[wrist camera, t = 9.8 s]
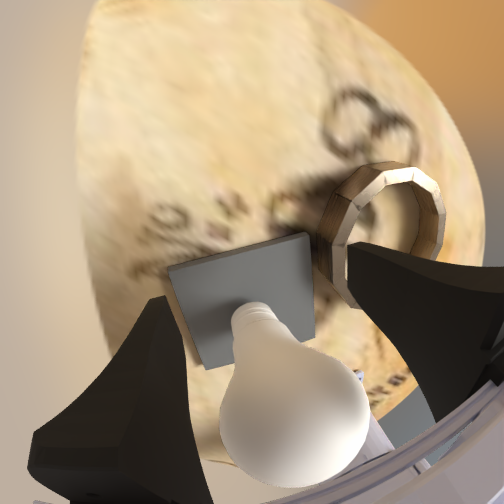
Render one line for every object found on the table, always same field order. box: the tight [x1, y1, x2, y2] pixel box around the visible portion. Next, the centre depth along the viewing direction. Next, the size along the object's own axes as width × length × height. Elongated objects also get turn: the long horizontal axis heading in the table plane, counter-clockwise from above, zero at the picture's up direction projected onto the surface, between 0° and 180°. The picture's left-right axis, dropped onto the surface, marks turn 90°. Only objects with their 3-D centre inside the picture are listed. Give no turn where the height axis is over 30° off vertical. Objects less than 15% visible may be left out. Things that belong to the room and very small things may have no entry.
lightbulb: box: [219, 302, 370, 488], centre depth 12 cm, size 6×6×11 cm
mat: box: [168, 232, 315, 370], centre depth 18 cm, size 8×8×1 cm
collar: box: [316, 161, 446, 310], centre depth 17 cm, size 10×10×2 cm
